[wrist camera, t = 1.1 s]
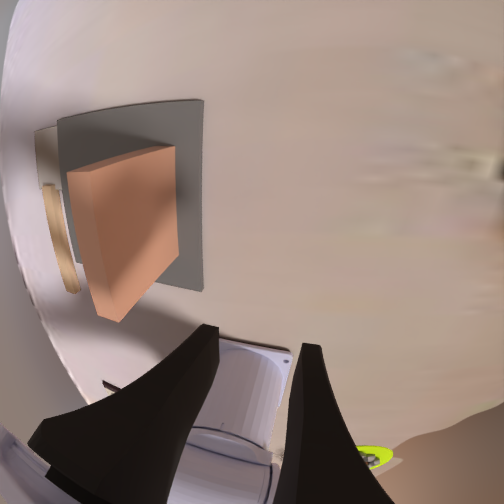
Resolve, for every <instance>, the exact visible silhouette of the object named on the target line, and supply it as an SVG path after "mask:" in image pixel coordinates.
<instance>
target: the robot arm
mask: <svg viewBox="0 0 504 504" xmlns="http://www.w3.org/2000/svg"><path fill="white" fill-rule="evenodd" d="M292 359H293V354H292V353H291V352H289V351H283V350H277V349H271V348H266V347H260V346H255V345H250V344H245V343H240V342H235V341H230V340H226V339H221V338H219V327H215V326H211V325H206V324H202V325H200V326H199V327H198V328H197V329H196V330H195V331H194V332H193V333H192V334H191V335H190V336H189V337H188V338H187V339H186V340H185V341H184V342H183V343H182V344H181V345H180V346H179V347H177V348H176V349H175V350H174V351H173V352H172V353H171V354H169V355H168V356H167V357H166V358H165V359H164V360H162V361H161V362H160V363H159V364H157V365H156V366H155V367H153V368H152V369H151V370H149V371H148V372H147V373H145V374H144V375H143V376H141V377H140V378H138V379H137V380H135V381H134V382H132V383H131V384H129V385H127V386H126V387H124V388H122V389H121V390H119V391H117V392H115V393H113V394H111V395H110V396H108V397H106V398H104V399H102V400H99V401H97V402H95V403H93V404H90V405H88V406H85V407H83V408H80V409H78V410H75V411H72V412H69V413H65V414H62V415H59V416H55V417H51V418H47V419H44V420H43V421H42V422H41V424H40V425H39V426H38V428H37V429H36V431H35V432H34V434H33V435H32V437H31V438H30V440H29V441H28V446H29V447H30V448H31V449H32V450H33V451H34V452H36V453H37V454H38V455H39V456H40V457H41V458H43V459H44V460H45V461H46V462H48V463H49V464H50V465H51V466H50V467H49V466H48V465H47V464H46V463H44V462H43V461H42V460H41V459H39V458H38V457H37V456H36V455H35V454H34V452H33V451H32V450H31V449H29V448H28V447H27V446H26V445H25V444H24V443H23V442H22V441H21V440H20V439H18V438H17V437H16V436H15V435H14V434H13V433H11V432H10V431H9V430H7V428H6V427H5V426H4V425H2V423H1V422H0V494H1V496H2V497H3V498H4V500H5V501H6V502H7V504H395V503H394V502H393V501H392V500H391V498H390V497H389V496H388V495H387V493H386V492H385V491H384V489H383V488H382V487H381V485H380V484H379V483H378V481H377V480H376V478H375V477H374V475H373V474H372V472H371V471H370V469H369V467H368V466H367V464H366V463H365V461H364V459H363V458H362V456H361V454H360V453H359V451H358V449H357V447H356V445H355V443H354V441H353V439H352V437H351V435H350V433H349V431H348V429H347V427H346V424H345V422H344V420H343V417H342V415H341V412H340V410H339V407H338V405H337V402H336V399H335V396H334V393H333V390H332V387H331V384H330V381H329V378H328V374H327V371H326V367H325V363H324V359H323V354H322V348H321V346H320V345H316V344H309V343H302V347H301V351H300V355H299V358H298V362H297V365H296V369H295V372H294V376H293V381H292V387H291V392H290V398H289V408H288V420H287V432H286V443H285V452H284V458H283V463H282V467H281V469H280V467H279V465H278V464H276V463H271V460H272V456H273V452H270V451H268V450H269V445H270V441H271V436H272V431H273V427H274V422H275V417H276V412H277V407H279V406H280V403H281V399H282V396H283V392H284V389H285V385H286V381H287V378H288V374H289V370H290V366H291V362H292Z"/></svg>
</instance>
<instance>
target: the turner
mask: <svg viewBox="0 0 504 504" xmlns="http://www.w3.org/2000/svg"><path fill="white" fill-rule="evenodd" d="M35 150H36V162H37V172H38V180H39V188H40V189H42V191H43V198H44V204H45V210H46V215H47V220H48V225H49V230H50V234H51V238H52V243H53V247H54V251H55V254H56V258H57V262H58V265H59V269H60V272H61V275H62V279H63V282H64V285H65V288H66V291H68V292H70V293H73V294H76V293H77V292H79V291H80V290H81V289H80V285H79V282H78V279H77V275H76V271H75V268H74V264H73V260H72V256H71V252H70V248H69V244H68V239H67V235H66V230H65V225H64V220H63V214H62V208H61V202H60V196H59V190H62V186H61V177H60V168H59V156H58V139H57V126H54V127H50V128H46V129H42V130H38V131H35Z"/></svg>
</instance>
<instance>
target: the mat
mask: <svg viewBox="0 0 504 504" xmlns="http://www.w3.org/2000/svg"><path fill="white" fill-rule="evenodd" d="M203 109H204V101H202V100H197V101H177V102H163V103H152V104H143V105H134V106H127V107H120V108H113V109H107V110H101V111H96V112H91V113H86V114H81V115H77V116H72V117H68V118H64V119H60V120H57V139H58V156H59V168H60V177H61V186H62V193H63V200H64V207H65V213H66V218H67V224H68V229H69V234H70V238H71V243H72V247H73V252H74V256H75V260H76V262H77V263H81V264H83V263H82V259H81V255H80V251H79V246H78V242H77V237H76V232H75V227H74V221H73V216H72V209H71V203H70V196H69V189H68V180H67V172H69V171H72V170H75V169H78V168H81V167H83V166H86V165H89V164H93V163H96V162H99V161H102V160H105V159H109V158H112V157H115V156H119V155H122V154H126V153H129V152H133V151H137V150H141V149H145V148H149V147H153V146H175V180H176V212H177V232H178V248H179V255H178V257H177V258H176V259H175V260H174V261H173V262H172V263H171V264H170V265H169V266H168V267H167V269H166V270H165V271H164V272H163V273H162V274H161V275H160V276H159V277H158V279H157V280H156V281H155V282H157V283H162V284H166V285H171V286H175V287H180V288H184V289H189V290H194V291H199V292H202V290H203V289H204V287H203V260H202V135H203Z"/></svg>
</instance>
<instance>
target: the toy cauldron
mask: <svg viewBox="0 0 504 504" xmlns="http://www.w3.org/2000/svg"><path fill="white" fill-rule="evenodd" d="M356 447H357V449H358V451H359V453H360V454H361V456H362V458H363V459H364V461H365V463H366V464H367V466H368V467H369V469H373V468H376V467H379V466H381V465H383V464H385V463H386V462H388V461H389V460H390V459H391V458H392V456H393V451H392V450H390V449H388V448H385V447H381V446H366V445H365V446H356Z"/></svg>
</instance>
